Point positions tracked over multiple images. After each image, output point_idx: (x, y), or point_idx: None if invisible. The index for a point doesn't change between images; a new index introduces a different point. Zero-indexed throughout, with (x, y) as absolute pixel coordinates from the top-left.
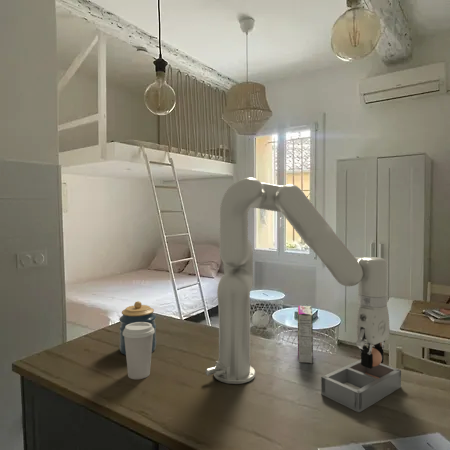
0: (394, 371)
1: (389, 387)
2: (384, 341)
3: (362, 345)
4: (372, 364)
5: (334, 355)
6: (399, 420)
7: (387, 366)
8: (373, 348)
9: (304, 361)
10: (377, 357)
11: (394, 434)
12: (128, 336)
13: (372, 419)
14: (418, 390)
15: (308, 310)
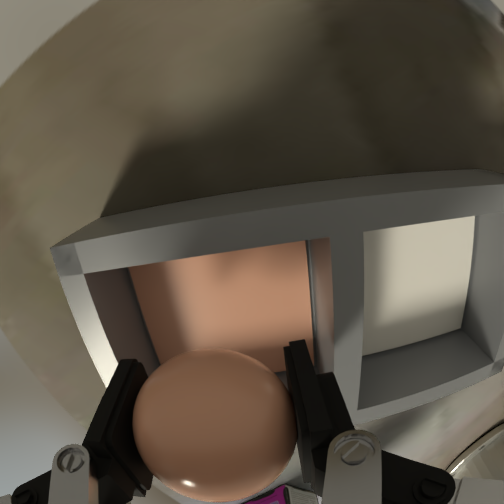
0: (103, 258)
1: (221, 200)
2: (27, 486)
3: (481, 500)
4: (296, 359)
5: (162, 487)
6: (398, 32)
7: (91, 331)
8: (203, 490)
9: (305, 493)
10: (238, 394)
11: (472, 21)
12: None
13: (475, 109)
14: (53, 154)
15: None
